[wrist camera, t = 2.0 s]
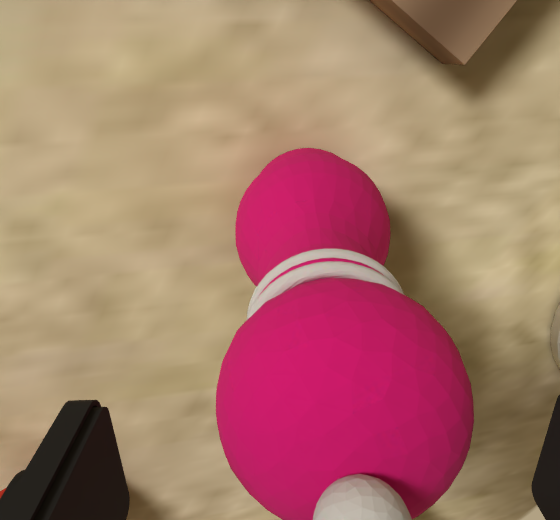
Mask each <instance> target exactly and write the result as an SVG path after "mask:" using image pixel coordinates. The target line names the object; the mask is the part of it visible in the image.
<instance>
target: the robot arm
mask: <svg viewBox="0 0 560 520" xmlns="http://www.w3.org/2000/svg"><path fill="white" fill-rule="evenodd" d="M550 343H551V348H552V353H553V358H554V360H555V362H556V364H557V366H558V368H559V370H560V304H559V306H558V307H557V309H556V312H555V316H554V319H553V323H552V326H551V341H550ZM532 493H533V497H534V500H535V502H536V504H537V505H538V507H539V509H540V511H541V512H542V514H543V516H544V517H545V519H546V520H560V395H559V396H558V398H557V401H556V404H555V407H554V411H553V414H552V417H551V421H550V424H549V427H548V431H547V434H546V437H545V441H544V444H543V447H542V451H541V454H540V458H539V461H538V464H537V468H536V471H535V474H534V478H533V481H532ZM128 510H129V492H128V488H127V484H126V479H125V475H124V471H123V467H122V463H121V459H120V455H119V451H118V446H117V442H116V438H115V434H114V430H113V426H112V422H111V418H110V413H109V410H108V408H107V407H101V405H100V403H99V402H98V400H77V401H68V402H66V403H65V405H64V406H63V407H62V409H61V411H60V412H59V414H58V416H57V417H56V419H55V421H54V423H53V424H52V426H51V428H50V429H49V431H48V433H47V434H46V436H45V438H44V439H43V441H42V443H41V444H40V446H39V448H38V449H37V451H36V453H35V455H34V456H33V458H32V460H31V461H30V463H29V465H28V466H27V468H26V470H23V471H21V472H19V473H18V474H17V475H15V477H14V478H13V479H12V481H11V482H10V483H9V485H8V487H7V488H6V490H5V491H4V493H3V495H2V496H1V498H0V520H126V517H127V514H128Z"/></svg>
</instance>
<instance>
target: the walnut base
mask: <svg viewBox="0 0 560 520" xmlns="http://www.w3.org/2000/svg"><path fill="white" fill-rule="evenodd" d="M370 1H371V2H372V3H373V4H375V5H376V6H377V7H378V8H379V9H380V10H381V11H383V12H384V13H385V14H386V15H387V16H388V17H389V18H391V19H392V20H393V21H394V22H395V23H396V24H397V25H399V26H400V27H401V28H402V29H403V30H404V31H406V32H407V33H408V34H409V35H410V36H411V37H412V38H414V39H415V40H416V41H417V42H418V43H419V44H420V45H422V46H423V47H424V48H425V49H426V50H427V51H429V52H430V53H431V54H432V55H433V56H434V57H435V58H437V59H438V60H439V61H440V62H441V63H442V64H460V65H465V64H466V63H467V61H468V60H469V59H470V58H471V56H472V55H473V54H474V53H475V51H476V50H477V49H478V48H479V47H480V45H481V44H482V43H483V42H484V40H485V39H486V38H487V37H488V35H489V34H490V33H491V32H492V31H493V29H494V28H495V27H496V26H497V24H498V23H499V22H500V21H501V19H502V18H503V17H504V16H505V15H506V13H507V12H508V11H509V10H510V8H511V7H512V6H513V5H514V3H515V2H516V1H517V0H370Z"/></svg>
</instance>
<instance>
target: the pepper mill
mask: <svg viewBox="0 0 560 520" xmlns="http://www.w3.org/2000/svg"><path fill="white" fill-rule="evenodd" d="M389 243H390V219H389V216H388V212H387V209H386V206H385V203H384V201H383V198H382V196H381V194H380V192H379V190H378V189H377V187H376V185H375V184H374V182H373V181H372V180H371V179H370V178H369V177H368V176H367V174H365V173H364V172H363V171H362V170H360V169H359V168H358V167H357V166H355V165H353V164H351V163H349V162H348V161H346V160H343V159H341V158H340V157H338V156H336V155H335V154H333V153H331V152H328V151H324V150H321V149H314V148H301V149H295V150H292V151H289V152H286V153H284V154H282V155H280V156H278V157H277V158H275V159H274V160H272V161H271V162H270V163H269V164H268V165H267V166H266V167H265V168H264V169H263V170H262V172H261V173H260V175H259V176H258V177H257V178H256V179H254V180H253V182H252V183H251V185H250V186H249V187H248V189H247V190H246V192H245V194H244V196H243V198H242V200H241V202H240V205H239V208H238V211H237V218H236V247H237V250H238V254H239V258H240V261H241V263H242V265H243V267H244V269H245V271H246V273H247V275H248V276H249V278H250V279H251V281H252V282H253V283H254V285H256V286H257V287H256V289H255V291H254V293H253V295H252V298H251V300H250V303H249V307H248V312H247V321H246V322H245V323H244V324H243V325H242V326H241V327H240V328H239V329H238V330H237V332H236V334H235V336H234V338H233V340H232V343H231V345H230V347H229V349H228V351H227V353H226V355H225V357H224V359H223V362H222V366H221V371H220V375H219V380H218V384H217V392H216V417H217V424H218V430H219V435H220V440H221V443H222V446H223V449H224V452H225V455H226V458H227V460H228V463H229V465H230V467H231V469H232V471H233V472H234V474H235V475H236V476H237V478H238V479H239V481H240V482H241V483H242V485H243V486H244V487H245V489H246V490H247V491H248V492H249V494H250V495H251V496H253V497H254V498H255V499H256V500H257V501H258V502H259V503H260V504H261V505H262V506H264V507H265V508H266V509H267V510H268V511H270V512H271V513H273V514H275V515H276V516H278V517H279V518H281V519H283V520H412V519H414V518H416V517H418V516H419V515H420V514H422V513H423V512H424V511H425V510H427V509H428V508H429V507H431V506H432V505H433V504H434V503H435V502H436V501H437V500H438V499H439V498H440V497H441V496H442V495H443V494H444V493H445V492H446V491H447V490H448V489H449V487H450V486H451V484H452V482H453V481H454V479H455V478H456V476H457V475H458V473H459V471H460V470H461V468H462V466H463V464H464V462H465V459H466V456H467V453H468V451H469V448H470V442H471V437H472V431H473V424H474V409H473V396H472V390H471V384H470V381H469V378H468V375H467V373H466V370H465V367H464V364H463V362H462V359H461V356H460V354H459V351H458V349H457V348H456V346H455V344H454V342H453V341H452V339H451V337H450V336H449V335H448V333H447V332H446V330H445V329H444V328H443V327H442V326H441V325H440V324H439V323H438V322H437V321H436V319H435V318H434V317H433V316H432V315H431V314H430V313H429V312H428V311H427V310H426V309H425V308H424V307H423V306H422V305H420V304H419V303H417V302H415V301H414V300H412V299H410V298H409V297H407V296H405V295H404V293H403V291H402V288H401V286H400V285H399V283H398V282H397V280H396V279H395V278H394V276H393V275H392V274H391V273H390V272H389V271H388V270H387V269H386V268H385V267H384V266H383V265H384V263H385V260H386V258H387V255H388V249H389Z"/></svg>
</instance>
